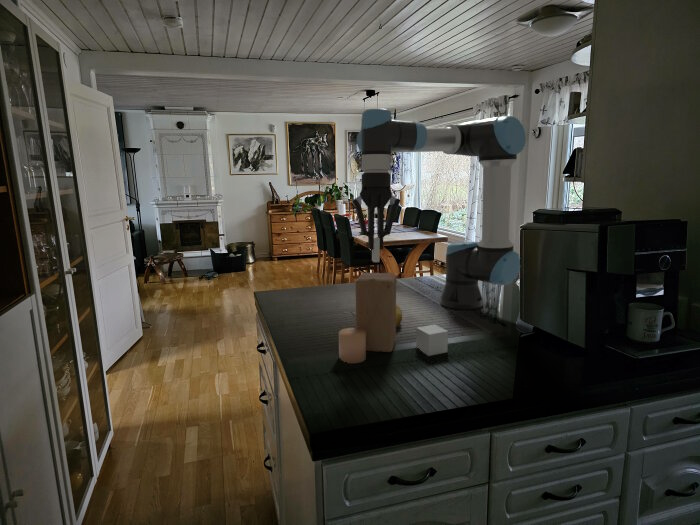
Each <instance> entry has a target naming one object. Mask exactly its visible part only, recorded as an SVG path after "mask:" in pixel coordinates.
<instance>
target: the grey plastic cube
mask: <svg viewBox="0 0 700 525" xmlns="http://www.w3.org/2000/svg"><path fill="white" fill-rule="evenodd" d="M415 331H416V332H415V334H416V339H415V340H416V341H415V348H416V347H417V348H419V349H420V350H421V351H422V353H423V354H425V355H426V356H428V357H431V356H434V355H440V354H445V353H448V348H449V347H448V343H449V341H448V340H449V337H448V336H449V331H448V330H446V329H445V328H442V327H441V326H439V325H437V324H429V325H424V326H419V327H416V330H415ZM417 348H416V349H417ZM420 350H419V351H420ZM421 351H420V352H421Z"/></svg>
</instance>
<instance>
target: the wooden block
mask: <svg viewBox="0 0 700 525" xmlns="http://www.w3.org/2000/svg"><path fill="white" fill-rule="evenodd" d="M396 304H397V275H396V274H395V273H387V272H363V273H361V274H360V275H359V276H358V278H357V279H356V280H355V328H359V329H363V330H365V331H366V352H367V351H368V352H380V351H381V352H380V353H391V352H392V351H393V350H394V345H395V343H396V340H397V339H396V338H397V337H396V336H397V332H396V331H397V330H396V328H397V327H396Z"/></svg>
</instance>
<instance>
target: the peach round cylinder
mask: <svg viewBox="0 0 700 525" xmlns="http://www.w3.org/2000/svg"><path fill="white" fill-rule="evenodd" d="M339 358H340V359H341V360H342V361H344V362H343V363H345V362H347V363H346V364H359V363H362V362H364V361H365V360H366V359H367V351H366V331H365V330H363V329H359V328H356V327H347V328H343V329H339V331H338V359H339ZM340 359H339V360H340ZM341 360H340V361H341ZM342 361H341V362H342Z"/></svg>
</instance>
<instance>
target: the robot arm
mask: <svg viewBox="0 0 700 525" xmlns="http://www.w3.org/2000/svg"><path fill="white" fill-rule="evenodd" d="M392 118H393V117H392V112H391V110H389V109H386V108H370V109H365V110H364V111H363V112H362V115H361V127H360V131H358V133H357V136H356V145H357V147H358V149H359V151H361V171H363V172H362V174H361V189H360V192H359V196H357V197H356V198H353V199H352V200H351V204H352V205H353V207H354V208H355V212H356V216H357V220H358V224H359V228H360V232H361V235H363V236H366V237H367V238H368V239H367V240H368V241H367V243H368V245H367V246H368V249H369V250H371V261H372V262H373V263H380V261H381V260H380V259H381V258H380V254H381V253H380V251H381V250H383V249H384V238H385V237H386V236H390V234H391V231H392V229H393V228H392V226H393V223H394V220H395V219H394V218H395V216H396V212H397V208H398V206H399V204H400V203H401V199H400V198H397V197H395V196H393V192H392V190H391V173H390V171H391V168H392V167H391V165H392V164H391V162H392V161H391V160H392V156H391V154H392V153H422V152H423V153H424V152H425V153H426V152H428V153H429V152H430V153H431V152H442V153H444V154H445V155H456V156H465V157H478V163H479V164H480V165H481V166H482V170H483V171H482V209H481V211H482V213H481V214H482V215H481V216H482V217H481V218H482V220H481V221H482V222H481V240H479V241H464V242H453V243H450V244H448V245H447V246H446V252H445V253H446V254H445V284H444V287H443V289H442V292H441V295H440V300H439V302H440V305H441V306H444V307H446V308H448V309H455V310H476V309H479V308H481V307H482V306H483V297H482V292H481V290H480V287H479V282H484V283H489V284H492V285H499V286H507V285H509V284H511V283H512V282H513V281H514V280H515V279H516V277H517V276H518V274H519V272H520V269H521V265H520V259H521V257H520V255H519V253H518V252H517V251H514V243H513V242H512V241H511V240H510V218H511V217H510V216H511V215H510V212H511V182H512V176H511V175H512V165H513V164H514V163H515V162H516V161H517V160H518V154H520V153H521V152H522V151H523V150H524V148H525V146H526V130H525V128H524V126H523V124H522V123H521V121H520V119H518V118H517V117H516V116H513V115H512V116H511V115H502V116H496V117H495V116H494V117H488V118H485V119H484V118H483V119H478V120H471V121H468V122H462V123H458V124H447V125H446V126H444V127H430V126H429V127H428V126H427V127H426V126H425V124H423V123H422V122H418V121H415V120H412V121H411V120H410V121H409V120H398V119H392ZM362 201H363V202H362ZM362 203H364V205H365V206H366V207H367V225H366V220H365V216H364V213H363V208H362ZM388 203H389V204H390V205H389V208H388V213H387V216H386V217H387V218H386V219H385V207H386V205H387V204H388ZM376 211H377V212H376ZM375 212H376V213H377V214H376V215H377V216H376V217H377V218H376V219H377V225H376V228H377V230H376V231H377V232H376V235H377V236H375ZM385 220H386V222H385ZM384 223H385V224H384Z"/></svg>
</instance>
